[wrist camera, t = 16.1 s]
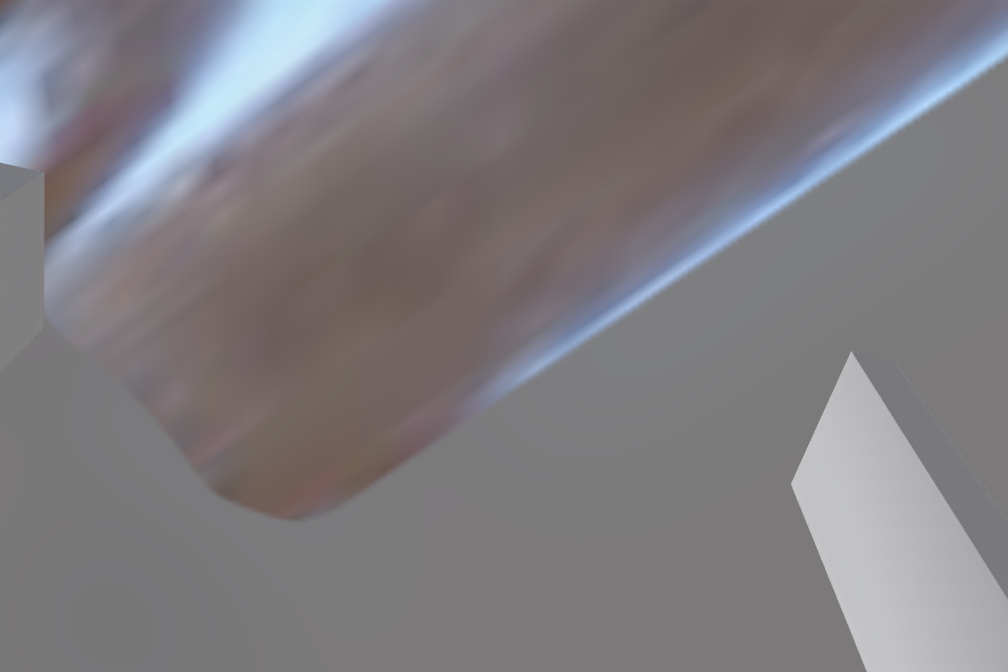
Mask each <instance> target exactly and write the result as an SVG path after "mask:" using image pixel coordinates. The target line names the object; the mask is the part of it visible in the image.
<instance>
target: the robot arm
mask: <svg viewBox="0 0 1008 672" xmlns="http://www.w3.org/2000/svg"><path fill="white" fill-rule="evenodd" d="M43 328H44V172H39V171H35V170H30V169H26V168H21V167H17V166H12V165H8V164H3V163H0V370H2V369H3V368H4V367H5V366H6V365H7V364H8V363H9V362H10V361H11V360H12V359H13V358H14V357H15V356H16V355H17V354H18V353H19V352H20V351H21V350H22V349H23V348H24V347H25V346H26V345H27V344H28V343H29V342H30V341H31V340H32V339H33V338H34V337H35V336H36V335H37V334H38V333H39V332H40V331H41V330H42V329H43ZM791 485H792V487H793V490H794V492H795V495H796V497H797V500H798V502H799V505H800V507H801V510H802V512H803V514H804V517H805V520H806V522H807V524H808V527H809V530H810V532H811V534H812V537H813V539H814V542H815V544H816V547H817V549H818V552H819V554H820V557H821V559H822V562H823V563H824V566H825V569H826V571H827V574H828V576H829V579H830V581H831V584H832V586H833V589H834V591H835V594H836V596H837V599H838V601H839V604H840V606H841V609H842V611H843V613H844V616H845V618H846V621H847V623H848V626H849V628H850V631H851V633H852V635H853V638H854V640H855V643H856V645H857V648H858V650H859V653H860V655H861V658H862V660H863V663H864V665H865V668H866V670H867V672H1008V521H1007V519H1006V518H1005V516H1004V515H1003V514H1002V512H1001V511H1000V509H999V508H998V506H997V505H996V504H995V502H994V501H993V499H992V498H991V496H990V495H989V494H988V492H987V491H986V489H985V488H984V486H983V485H982V484H981V482H980V481H979V479H978V478H977V476H976V475H975V474H974V472H973V471H972V469H971V468H970V467H969V465H968V464H967V462H966V461H965V459H964V458H963V457H962V455H961V454H960V452H959V451H958V450H957V448H956V447H955V445H954V444H953V442H952V441H951V440H950V438H949V437H948V435H947V434H946V433H945V431H944V430H943V428H942V427H941V425H940V424H939V423H938V421H937V420H936V418H935V417H934V415H933V414H932V413H931V411H930V410H929V408H928V407H927V405H926V404H925V403H924V401H923V400H922V398H921V397H920V396H919V394H918V393H917V391H916V390H915V388H914V387H913V386H912V384H911V383H910V381H909V380H908V378H907V377H906V376H905V374H904V373H903V371H902V370H901V369H900V367H899V366H898V364H897V363H896V362H895V361H893V360H888V359H883V358H879V357H875V356H870V355H866V354H861V353H857V352H851V354H850V356H849V358H848V360H847V362H846V364H845V367H844V369H843V371H842V373H841V375H840V378H839V380H838V382H837V384H836V386H835V389H834V391H833V393H832V395H831V397H830V400H829V402H828V404H827V406H826V408H825V411H824V413H823V415H822V417H821V420H820V422H819V424H818V426H817V428H816V430H815V433H814V435H813V437H812V439H811V441H810V444H809V446H808V448H807V450H806V452H805V455H804V457H803V459H802V461H801V463H800V466H799V468H798V470H797V472H796V474H795V477H794V479H793V481H792V483H791Z"/></svg>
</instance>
